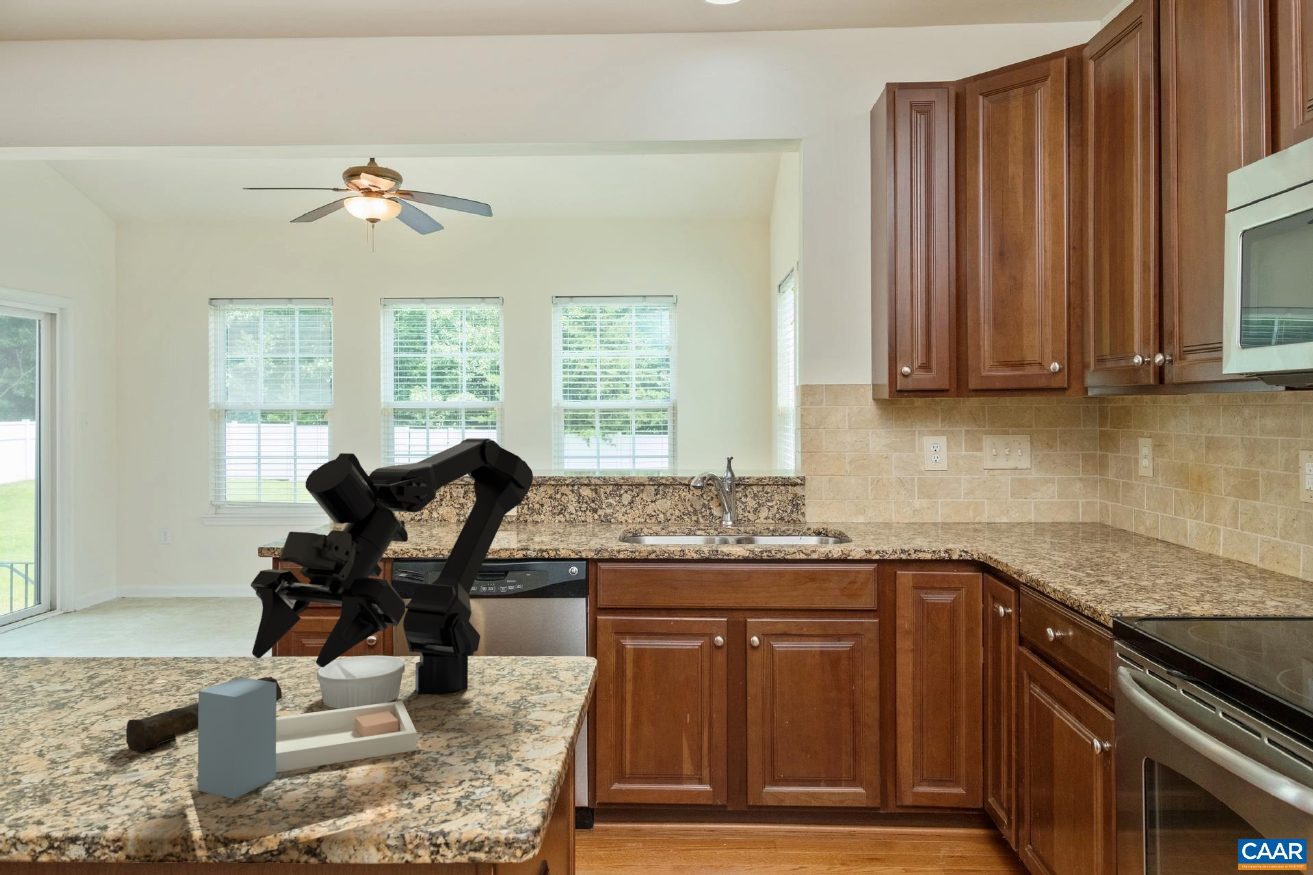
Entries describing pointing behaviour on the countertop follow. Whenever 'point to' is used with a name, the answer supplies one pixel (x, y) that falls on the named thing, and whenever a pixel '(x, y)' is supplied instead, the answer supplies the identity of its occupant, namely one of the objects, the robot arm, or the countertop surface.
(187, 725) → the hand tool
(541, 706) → the countertop surface
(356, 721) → the terracotta tile
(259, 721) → the blue block
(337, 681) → the ramekin
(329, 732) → the tray
